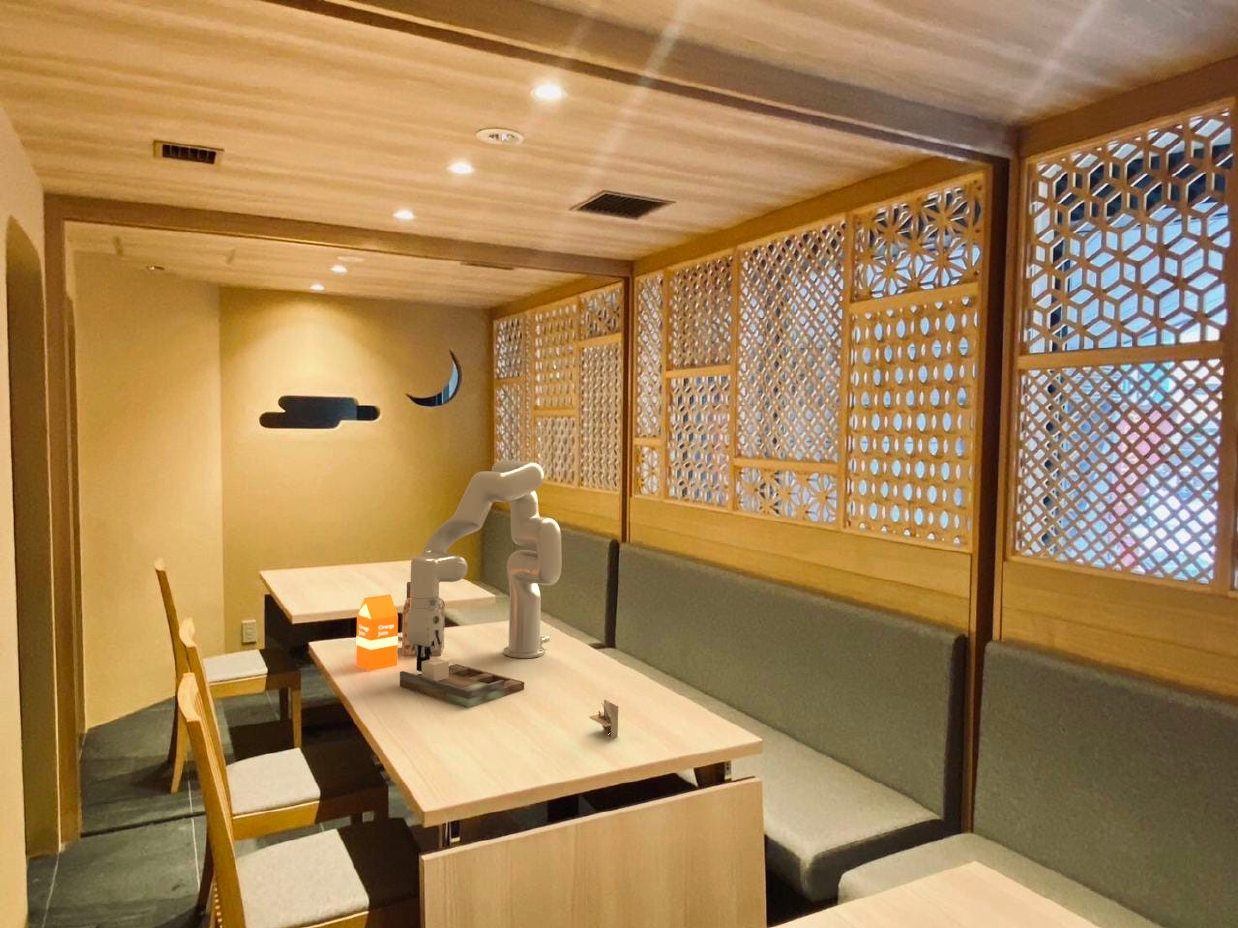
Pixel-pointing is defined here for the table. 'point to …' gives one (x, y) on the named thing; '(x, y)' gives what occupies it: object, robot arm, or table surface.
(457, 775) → the table surface
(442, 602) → the decorative jar
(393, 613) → the orange juice
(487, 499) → the robot arm
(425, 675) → the block
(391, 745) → the table surface
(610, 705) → the architectural model
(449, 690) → the board
